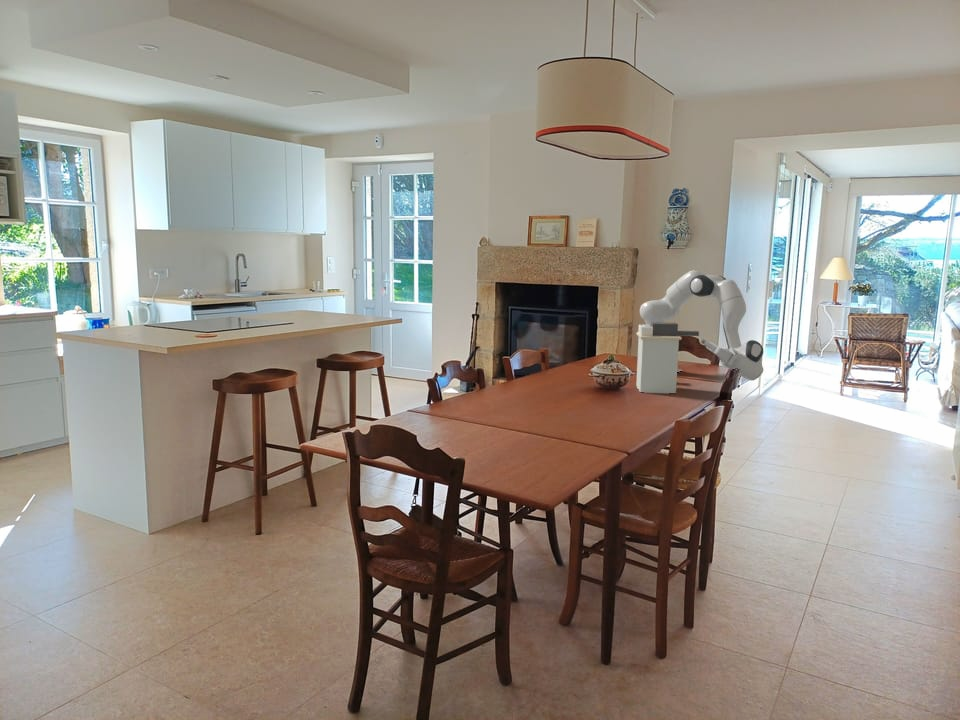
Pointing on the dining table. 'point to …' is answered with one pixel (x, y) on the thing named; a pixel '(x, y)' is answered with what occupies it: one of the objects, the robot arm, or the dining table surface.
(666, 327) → the dark grey stepped bar
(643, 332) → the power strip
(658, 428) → the dining table surface
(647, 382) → the cabinet
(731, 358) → the robot arm
